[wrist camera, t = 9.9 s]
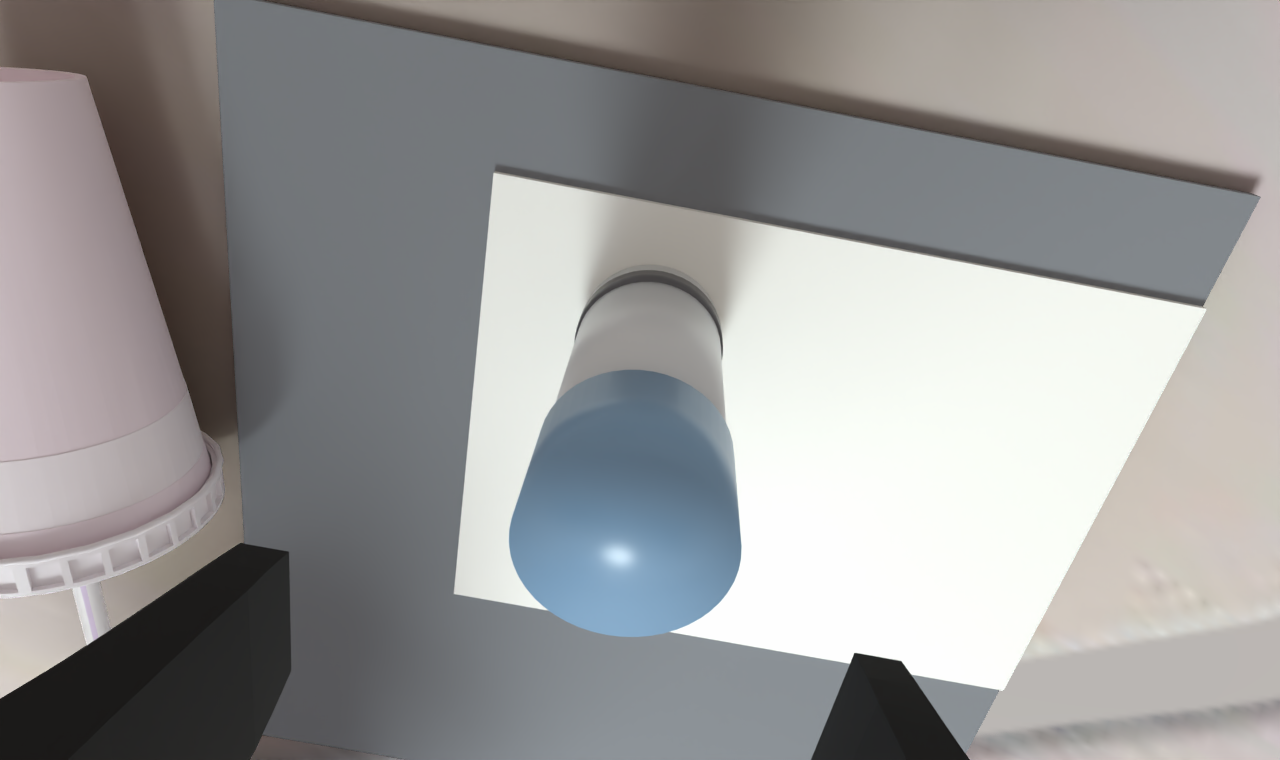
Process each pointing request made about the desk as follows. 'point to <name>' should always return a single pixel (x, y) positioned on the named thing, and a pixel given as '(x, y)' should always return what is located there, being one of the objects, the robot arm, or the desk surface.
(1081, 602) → the desk surface
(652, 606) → the marker
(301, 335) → the desk mat
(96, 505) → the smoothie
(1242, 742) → the desk surface
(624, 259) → the paper
